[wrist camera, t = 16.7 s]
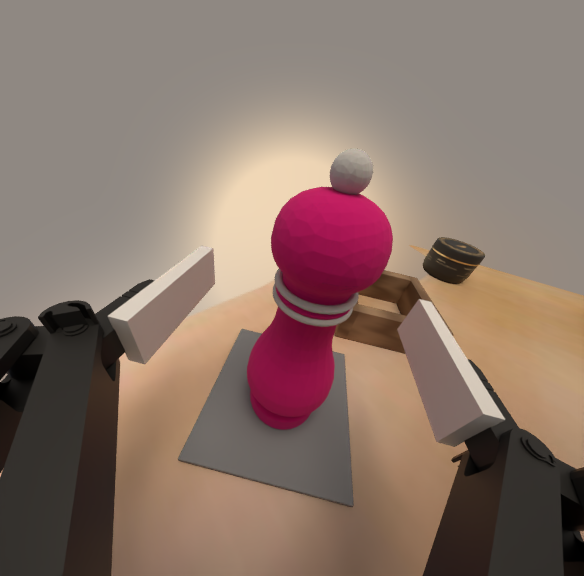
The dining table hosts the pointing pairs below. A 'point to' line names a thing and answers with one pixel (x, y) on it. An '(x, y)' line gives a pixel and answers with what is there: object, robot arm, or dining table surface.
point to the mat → (273, 435)
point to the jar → (452, 260)
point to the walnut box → (384, 312)
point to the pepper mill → (316, 289)
